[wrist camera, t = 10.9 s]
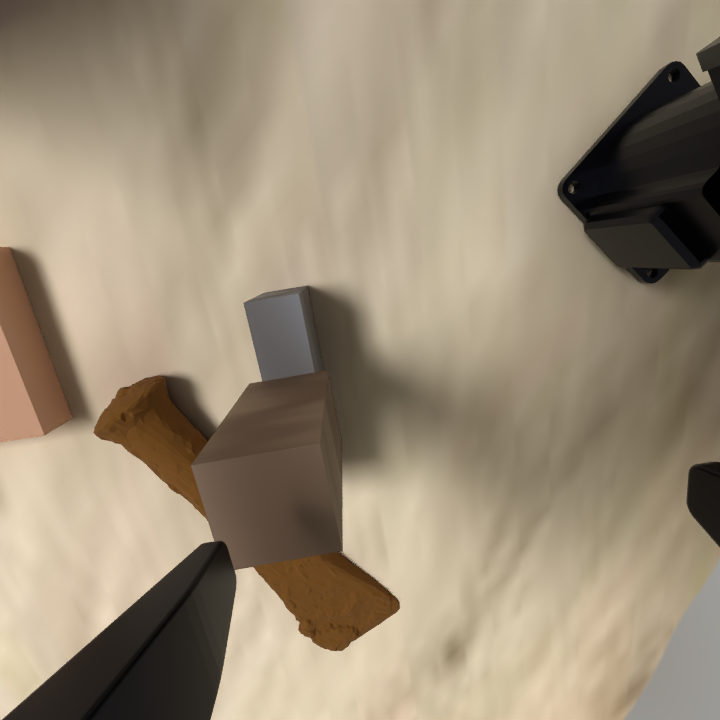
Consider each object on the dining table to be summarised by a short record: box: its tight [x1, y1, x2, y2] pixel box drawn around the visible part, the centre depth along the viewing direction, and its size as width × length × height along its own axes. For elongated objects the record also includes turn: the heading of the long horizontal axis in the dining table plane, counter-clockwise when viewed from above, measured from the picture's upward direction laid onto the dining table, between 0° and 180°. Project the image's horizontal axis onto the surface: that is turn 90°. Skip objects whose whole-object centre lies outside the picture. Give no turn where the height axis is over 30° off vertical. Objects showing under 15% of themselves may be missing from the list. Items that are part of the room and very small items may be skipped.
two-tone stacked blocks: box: [191, 286, 343, 570], centre depth 14 cm, size 3×9×10 cm, turn 9°
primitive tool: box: [93, 376, 400, 651], centre depth 20 cm, size 19×6×4 cm, turn 39°
